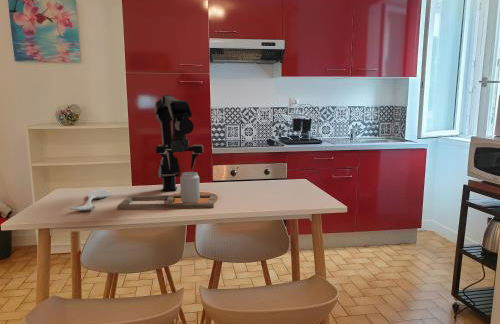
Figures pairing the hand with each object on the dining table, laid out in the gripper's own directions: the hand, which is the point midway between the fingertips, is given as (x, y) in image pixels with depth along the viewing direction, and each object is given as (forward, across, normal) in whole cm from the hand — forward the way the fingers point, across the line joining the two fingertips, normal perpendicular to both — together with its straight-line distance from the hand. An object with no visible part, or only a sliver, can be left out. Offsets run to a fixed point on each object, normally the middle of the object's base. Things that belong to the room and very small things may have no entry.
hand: (180, 169), depth 159 cm
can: (+12, +4, -6) cm, 14 cm away
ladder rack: (+12, -4, -6) cm, 14 cm away
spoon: (+13, -35, -4) cm, 37 cm away
